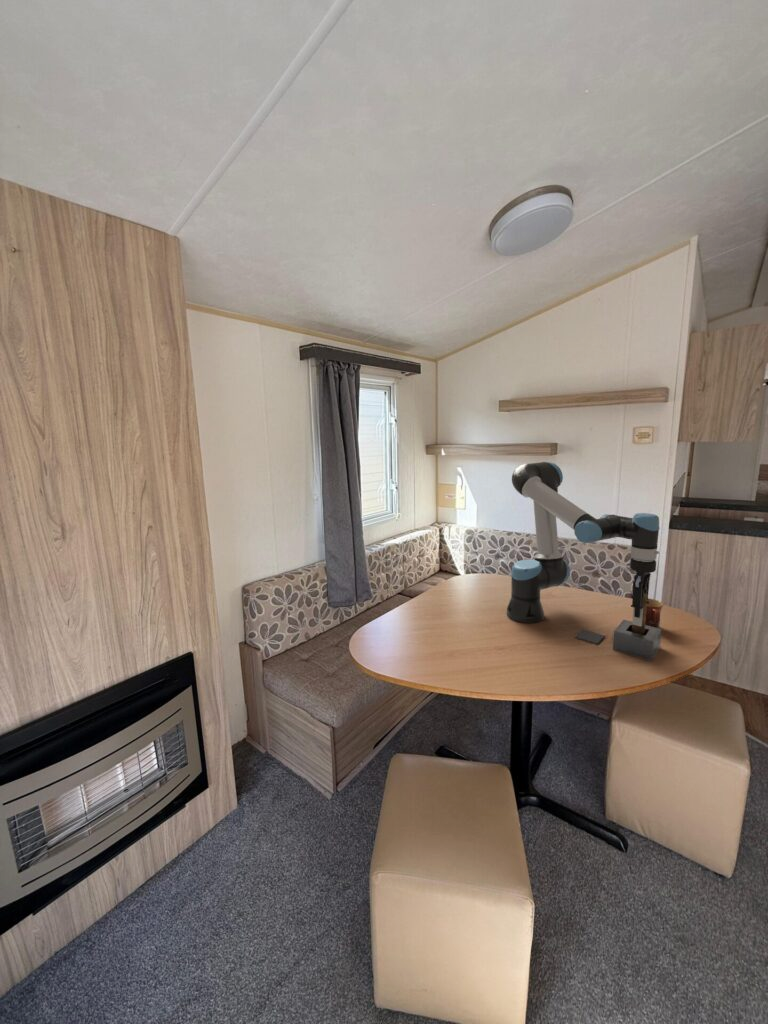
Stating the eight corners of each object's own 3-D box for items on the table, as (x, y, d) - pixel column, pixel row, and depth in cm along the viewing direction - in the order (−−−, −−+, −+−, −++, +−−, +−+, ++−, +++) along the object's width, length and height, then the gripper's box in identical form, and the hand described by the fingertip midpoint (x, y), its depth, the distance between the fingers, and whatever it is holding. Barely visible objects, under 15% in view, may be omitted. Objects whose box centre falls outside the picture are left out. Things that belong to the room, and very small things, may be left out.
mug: (631, 621, 168) (633, 597, 166) (655, 622, 166) (657, 598, 164) (643, 635, 156) (645, 609, 154) (669, 636, 154) (671, 610, 152)
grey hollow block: (612, 649, 147) (613, 630, 145) (622, 637, 155) (623, 619, 154) (651, 660, 138) (653, 641, 137) (659, 647, 147) (661, 629, 146)
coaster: (574, 638, 156) (574, 636, 156) (582, 630, 161) (582, 629, 161) (597, 644, 150) (597, 643, 150) (604, 636, 156) (604, 635, 156)
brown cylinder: (630, 636, 146) (633, 593, 143) (633, 632, 148) (636, 590, 146) (642, 640, 143) (646, 596, 140) (645, 636, 146) (648, 593, 143)
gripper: (650, 566, 132) (645, 634, 136) (661, 555, 144) (656, 618, 148) (624, 562, 138) (619, 628, 142) (637, 551, 149) (632, 612, 153)
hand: (638, 622), depth 145 cm, fingers closed on brown cylinder, 4 cm apart
